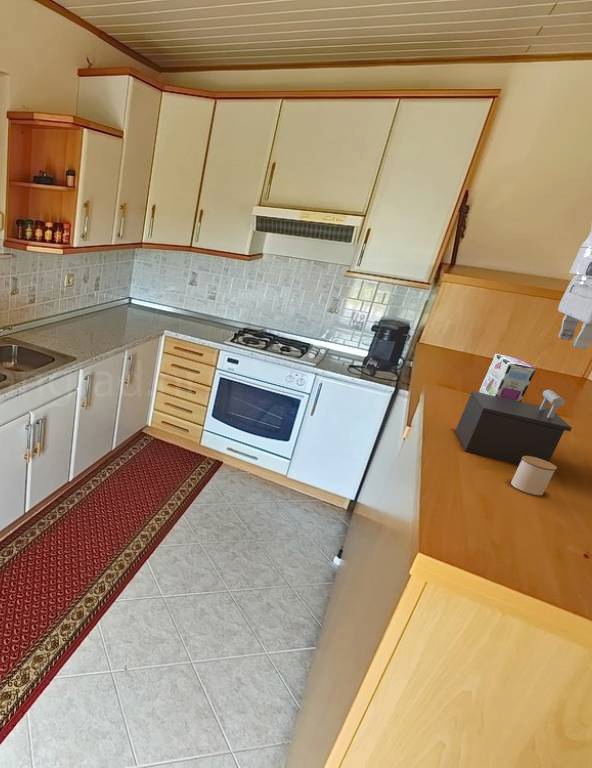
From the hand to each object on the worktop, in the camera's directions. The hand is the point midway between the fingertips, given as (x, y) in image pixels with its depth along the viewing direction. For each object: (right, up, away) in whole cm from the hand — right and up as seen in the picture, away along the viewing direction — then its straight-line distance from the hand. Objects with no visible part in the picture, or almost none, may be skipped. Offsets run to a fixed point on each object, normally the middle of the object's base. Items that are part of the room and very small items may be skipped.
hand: (571, 343), depth 90 cm
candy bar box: (+4, -18, +24) cm, 30 cm away
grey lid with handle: (-3, -13, +8) cm, 16 cm away
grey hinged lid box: (-4, -21, +11) cm, 24 cm away
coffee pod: (-12, -26, -4) cm, 29 cm away
